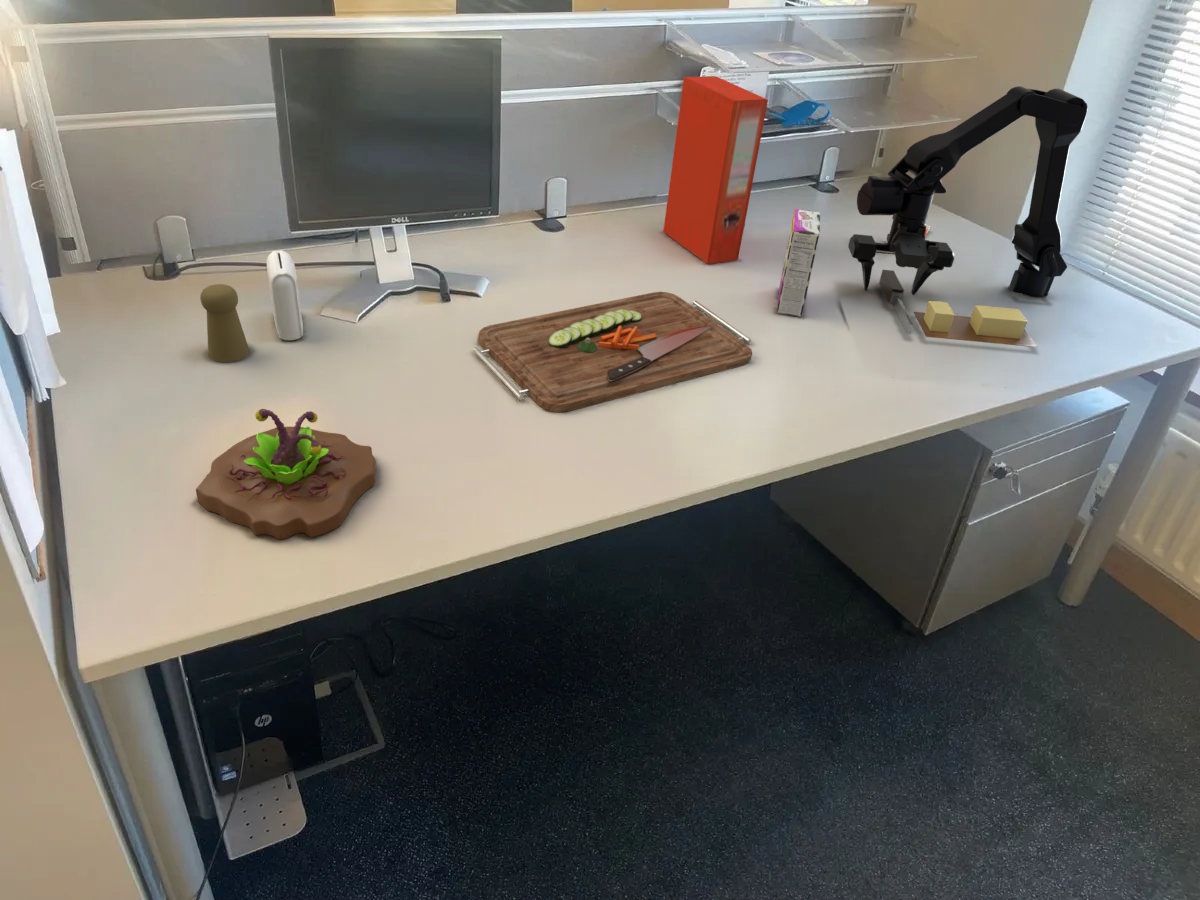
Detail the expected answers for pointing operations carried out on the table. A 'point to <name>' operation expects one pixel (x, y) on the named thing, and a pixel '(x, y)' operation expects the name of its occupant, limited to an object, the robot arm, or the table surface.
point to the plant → (288, 479)
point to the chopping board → (610, 349)
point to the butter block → (998, 322)
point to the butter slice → (938, 316)
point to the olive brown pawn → (223, 324)
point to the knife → (895, 296)
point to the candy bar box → (798, 262)
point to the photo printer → (284, 295)
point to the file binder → (713, 167)
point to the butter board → (970, 333)
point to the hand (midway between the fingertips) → (889, 291)
